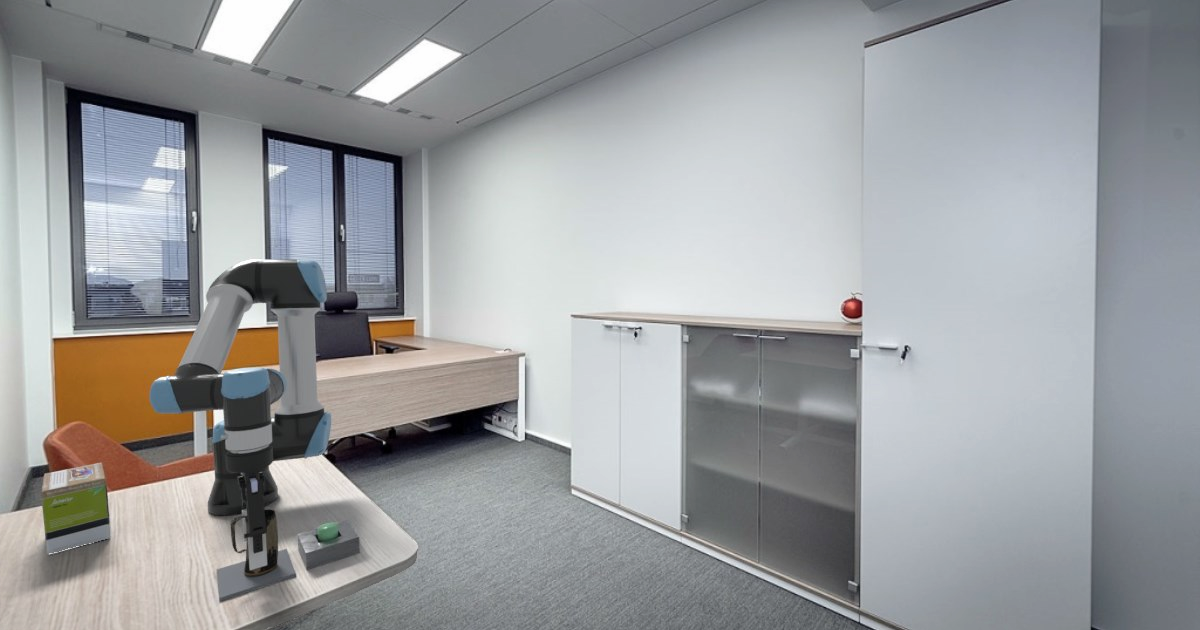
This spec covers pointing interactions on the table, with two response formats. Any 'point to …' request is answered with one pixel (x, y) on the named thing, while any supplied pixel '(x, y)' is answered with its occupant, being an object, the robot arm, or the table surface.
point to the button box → (328, 546)
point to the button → (327, 532)
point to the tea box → (75, 507)
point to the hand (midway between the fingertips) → (254, 552)
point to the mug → (270, 544)
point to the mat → (238, 583)
